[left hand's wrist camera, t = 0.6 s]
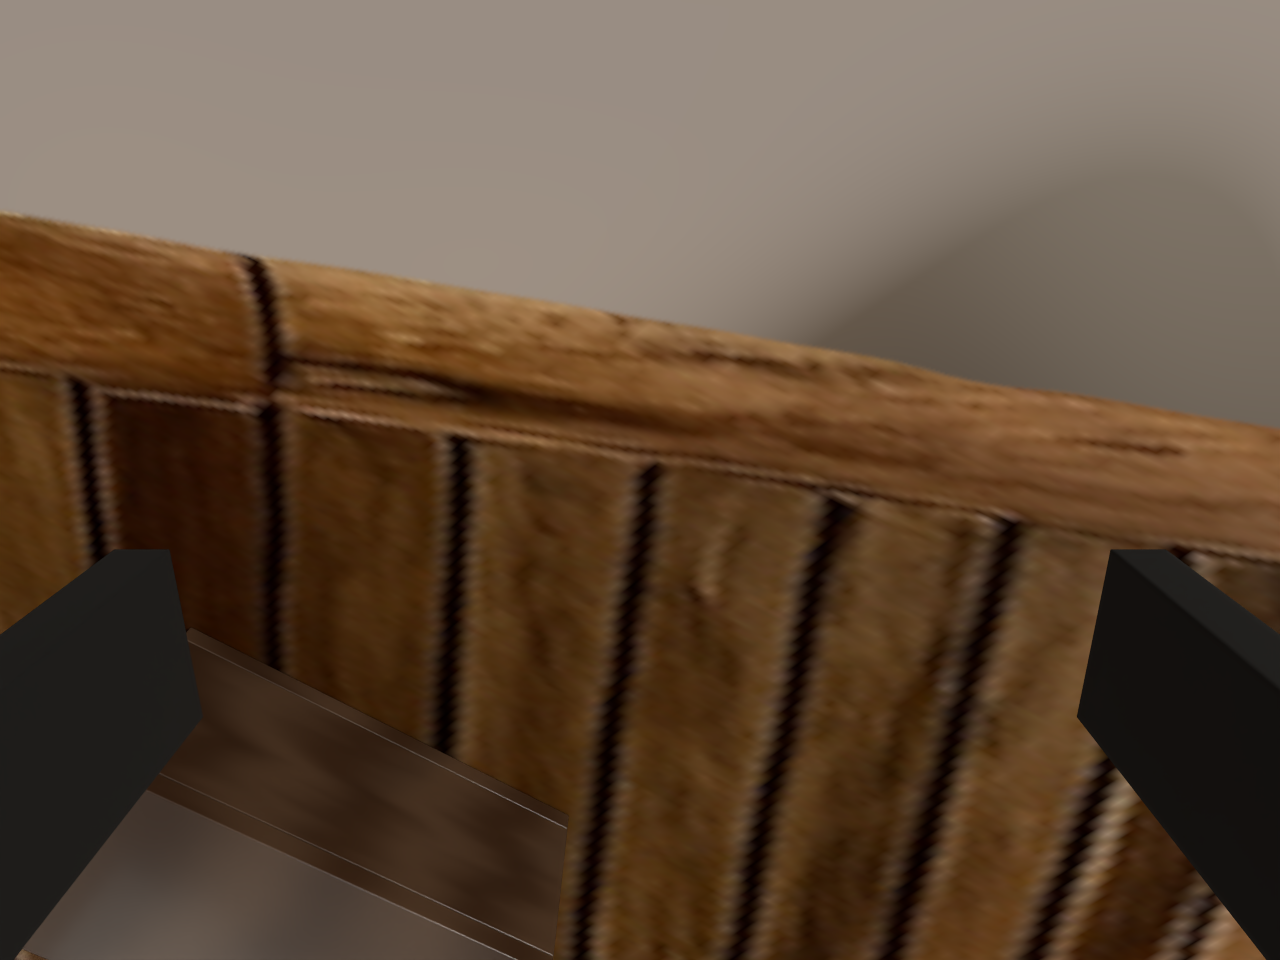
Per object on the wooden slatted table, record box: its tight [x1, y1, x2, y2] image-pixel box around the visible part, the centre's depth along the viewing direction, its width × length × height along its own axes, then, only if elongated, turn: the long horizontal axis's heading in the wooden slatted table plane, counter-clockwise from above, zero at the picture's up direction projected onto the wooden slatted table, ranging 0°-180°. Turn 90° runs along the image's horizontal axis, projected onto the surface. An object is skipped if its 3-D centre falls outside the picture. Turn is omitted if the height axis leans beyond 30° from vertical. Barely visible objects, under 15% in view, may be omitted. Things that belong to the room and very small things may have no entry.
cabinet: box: [22, 628, 569, 960], centre depth 42 cm, size 22×11×10 cm, turn 58°
